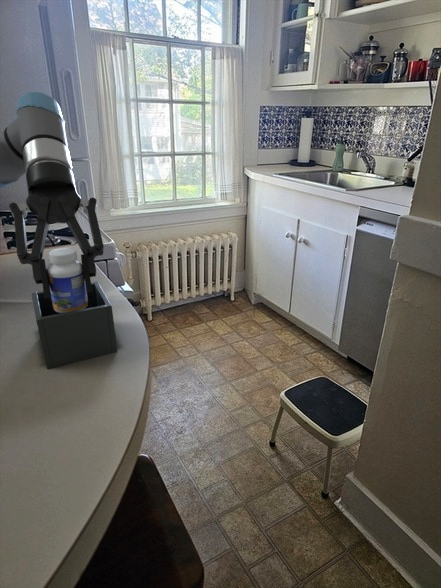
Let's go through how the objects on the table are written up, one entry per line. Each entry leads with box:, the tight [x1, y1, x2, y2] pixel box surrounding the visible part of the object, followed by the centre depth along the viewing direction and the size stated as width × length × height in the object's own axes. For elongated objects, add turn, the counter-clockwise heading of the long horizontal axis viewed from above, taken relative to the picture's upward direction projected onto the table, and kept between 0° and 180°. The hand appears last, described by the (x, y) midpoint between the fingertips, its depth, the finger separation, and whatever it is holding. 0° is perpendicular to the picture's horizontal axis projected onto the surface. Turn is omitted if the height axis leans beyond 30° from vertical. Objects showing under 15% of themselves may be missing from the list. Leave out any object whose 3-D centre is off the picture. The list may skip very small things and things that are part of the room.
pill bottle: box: [47, 247, 88, 313], centre depth 63 cm, size 5×5×10 cm
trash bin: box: [31, 281, 118, 370], centre depth 66 cm, size 11×11×9 cm
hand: (69, 297), depth 60 cm, fingers closed on pill bottle, 5 cm apart
